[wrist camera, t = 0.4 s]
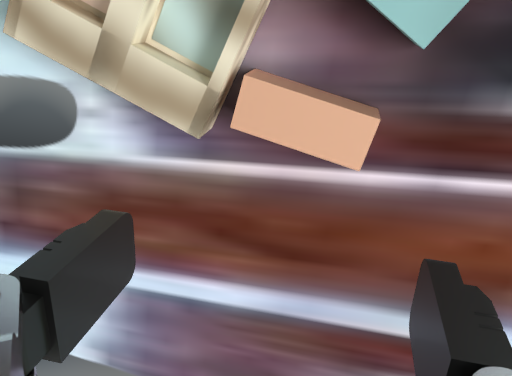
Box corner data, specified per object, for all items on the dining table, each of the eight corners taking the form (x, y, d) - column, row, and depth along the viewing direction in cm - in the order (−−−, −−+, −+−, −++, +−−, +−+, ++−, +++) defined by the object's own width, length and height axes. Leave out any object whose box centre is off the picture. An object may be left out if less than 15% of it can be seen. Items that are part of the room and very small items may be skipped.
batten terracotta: (242, 115, 37) (230, 127, 33) (255, 68, 35) (244, 74, 31) (359, 155, 36) (359, 171, 32) (378, 108, 34) (380, 119, 31)
